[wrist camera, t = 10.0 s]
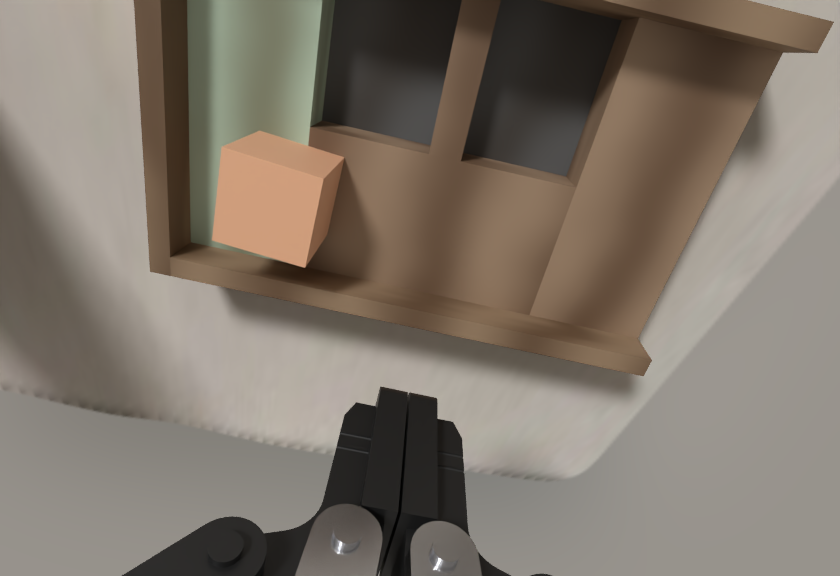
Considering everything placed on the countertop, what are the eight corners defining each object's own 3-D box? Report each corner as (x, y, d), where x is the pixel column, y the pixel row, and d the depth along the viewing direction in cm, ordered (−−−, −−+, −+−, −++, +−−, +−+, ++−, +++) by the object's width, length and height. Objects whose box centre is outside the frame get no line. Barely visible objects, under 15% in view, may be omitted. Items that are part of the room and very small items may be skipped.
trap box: (195, 238, 27) (150, 271, 23) (191, -114, 20) (124, -155, 16) (616, 329, 28) (643, 376, 24) (760, 27, 21) (834, 21, 17)
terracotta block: (248, 211, 23) (211, 240, 20) (259, 130, 22) (221, 146, 18) (327, 235, 24) (305, 268, 20) (344, 157, 22) (323, 178, 18)
